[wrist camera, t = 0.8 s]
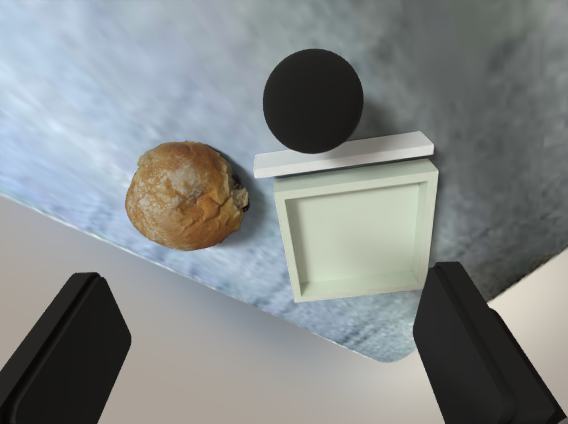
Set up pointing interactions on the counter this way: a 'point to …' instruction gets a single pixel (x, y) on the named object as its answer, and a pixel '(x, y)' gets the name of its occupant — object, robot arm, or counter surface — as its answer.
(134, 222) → the bread roll
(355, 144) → the white flat bar
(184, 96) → the counter surface
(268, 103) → the light bulb
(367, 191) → the dish
